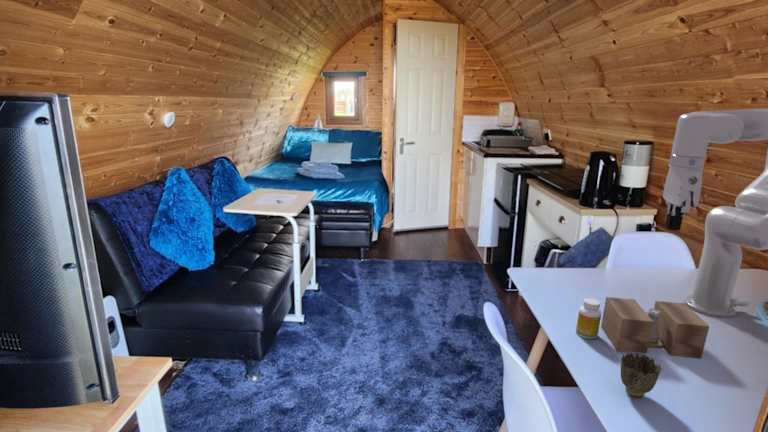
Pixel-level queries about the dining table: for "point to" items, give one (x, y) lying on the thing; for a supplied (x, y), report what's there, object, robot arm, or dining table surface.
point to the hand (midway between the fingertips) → (672, 228)
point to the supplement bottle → (589, 319)
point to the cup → (638, 374)
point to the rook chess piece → (654, 324)
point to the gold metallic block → (656, 345)
